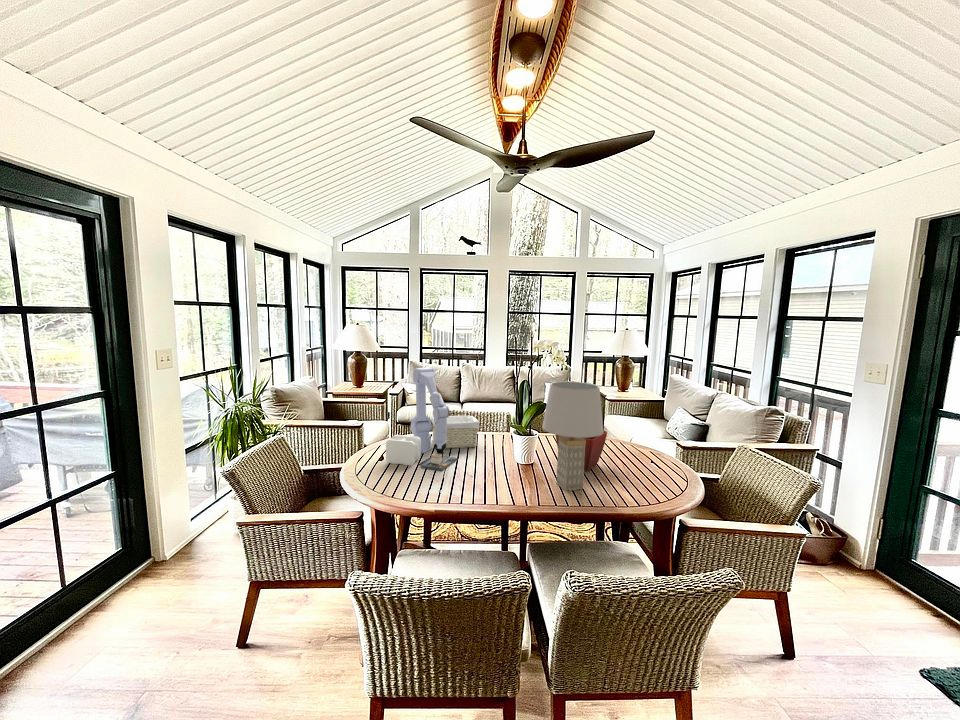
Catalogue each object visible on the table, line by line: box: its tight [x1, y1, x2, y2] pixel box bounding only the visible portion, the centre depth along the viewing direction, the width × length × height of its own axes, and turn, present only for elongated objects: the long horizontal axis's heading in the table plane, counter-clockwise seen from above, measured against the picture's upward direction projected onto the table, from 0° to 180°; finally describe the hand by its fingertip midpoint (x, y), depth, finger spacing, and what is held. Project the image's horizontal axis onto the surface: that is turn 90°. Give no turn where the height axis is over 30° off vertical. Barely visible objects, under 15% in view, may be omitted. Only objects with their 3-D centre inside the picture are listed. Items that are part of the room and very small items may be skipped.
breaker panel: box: [420, 455, 458, 472], centre depth 208 cm, size 17×11×2 cm, turn 159°
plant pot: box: [555, 430, 608, 472], centre depth 211 cm, size 19×19×17 cm
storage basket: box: [431, 415, 480, 449], centre depth 238 cm, size 24×16×15 cm
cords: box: [417, 456, 431, 467], centre depth 211 cm, size 15×2×1 cm, turn 159°
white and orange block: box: [430, 452, 442, 464], centre depth 205 cm, size 3×4×4 cm
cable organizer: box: [385, 434, 422, 466], centre depth 209 cm, size 15×11×12 cm
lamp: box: [541, 381, 604, 492], centre depth 182 cm, size 25×25×44 cm
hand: (440, 458), depth 208 cm, fingers closed
